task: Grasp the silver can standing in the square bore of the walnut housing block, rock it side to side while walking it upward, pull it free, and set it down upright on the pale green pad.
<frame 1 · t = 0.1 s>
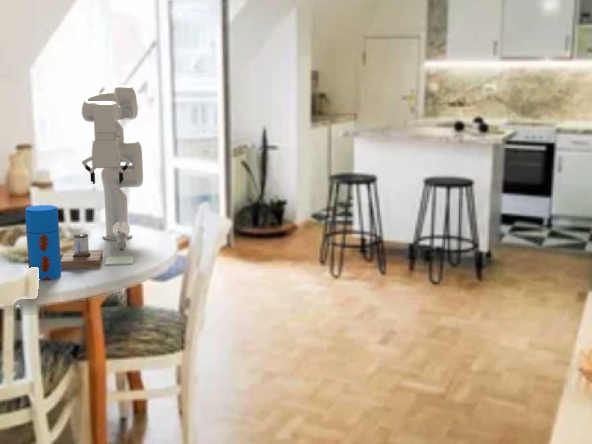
hand: (107, 183, 272), 31 cm above the table, tool pointing down, fingers open, 9 cm apart
pad: (119, 261, 282), on the table
housing: (82, 262, 279), on the table
light bulb: (122, 250, 300), on the table
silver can: (82, 263, 279), resting in housing
thermos: (45, 277, 261), on the table
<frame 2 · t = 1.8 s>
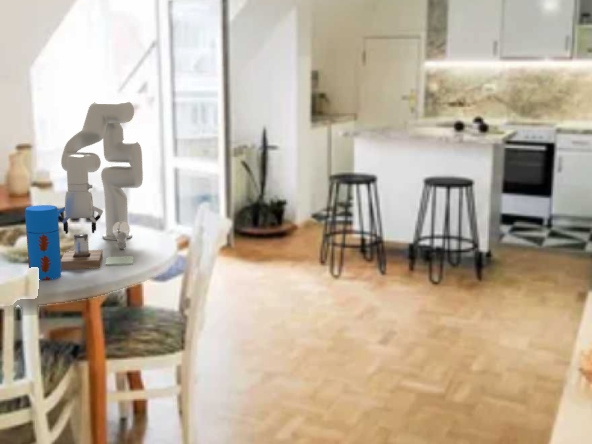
hand: (80, 232, 276), 12 cm above the table, tool pointing down, fingers open, 9 cm apart
nothing on the table moved.
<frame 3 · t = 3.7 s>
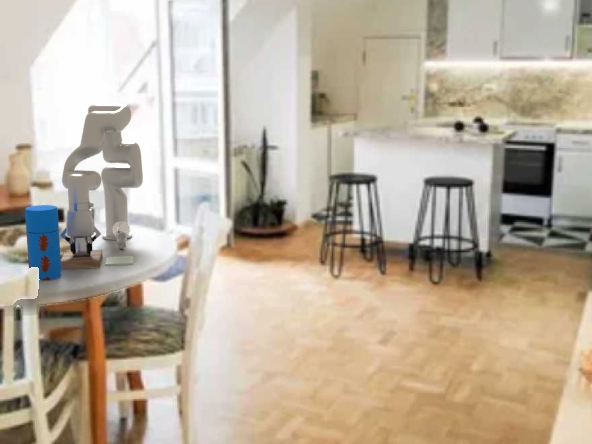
hand: (81, 252, 278), 4 cm above the table, tool pointing down, fingers closed on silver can, 5 cm apart
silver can: (82, 263, 279), resting in housing, touching gripper
everything else where it was.
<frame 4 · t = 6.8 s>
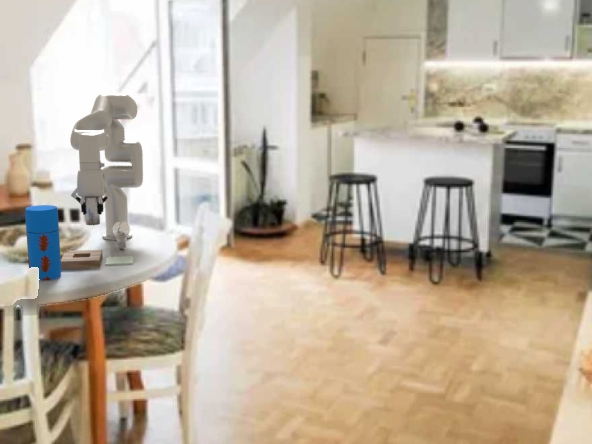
hand: (92, 213, 276), 19 cm above the table, tool pointing down, fingers closed on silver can, 5 cm apart
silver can: (92, 223, 277), point 15 cm above the table, touching gripper
everything else where it was.
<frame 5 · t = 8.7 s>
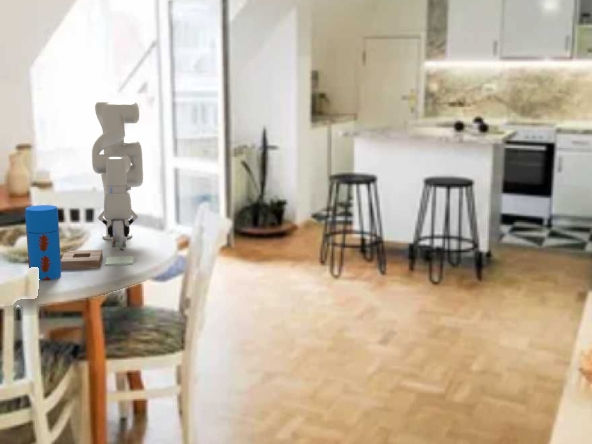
hand: (118, 235, 279), 10 cm above the table, tool pointing down, fingers closed on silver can, 5 cm apart
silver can: (119, 246, 280), point 6 cm above the table, touching gripper
everything else where it was.
when the fingers open (6 cm above the table, at t = 10.2 s): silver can drops 1 cm, resting on pad.
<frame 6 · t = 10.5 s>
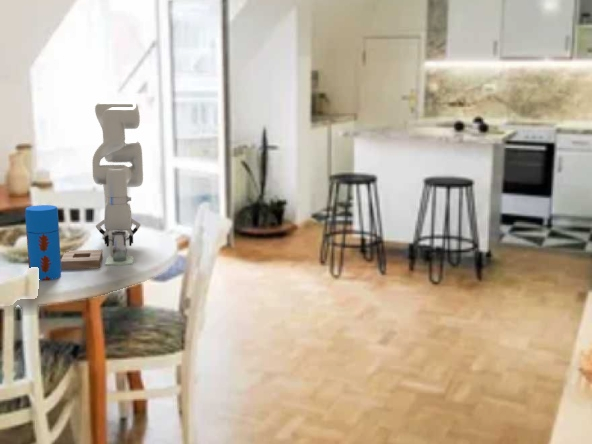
hand: (119, 245, 280), 6 cm above the table, tool pointing down, fingers open, 8 cm apart
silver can: (119, 259, 281), point 1 cm above the table, touching pad
everything else where it was.
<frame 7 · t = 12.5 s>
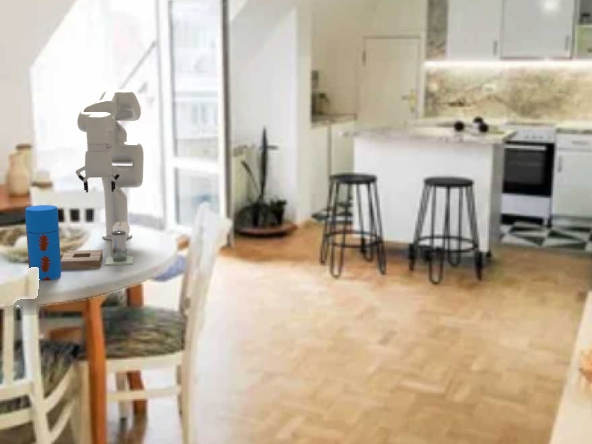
hand: (99, 191, 284), 26 cm above the table, tool pointing down, fingers open, 9 cm apart
nothing on the table moved.
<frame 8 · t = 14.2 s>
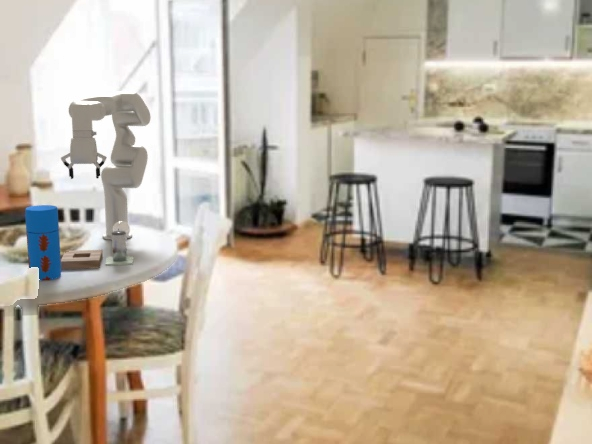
hand: (84, 178, 288), 30 cm above the table, tool pointing down, fingers open, 9 cm apart
nothing on the table moved.
at the end: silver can inside the target area on the pad (0.0 cm from its centre), point 0.6 cm above the pad's base; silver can tilted 0°; the gripper is holding nothing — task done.
